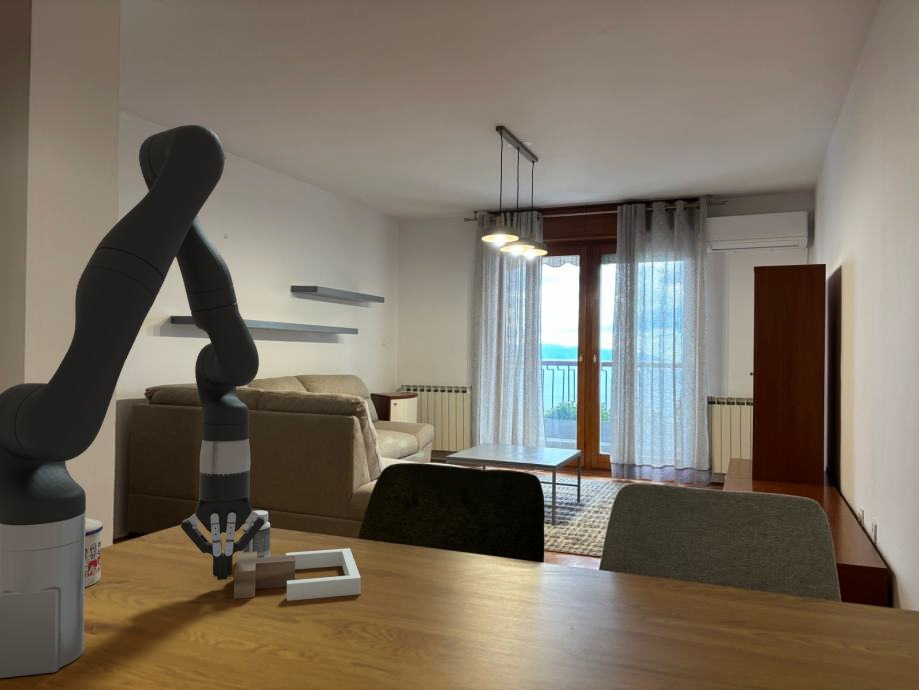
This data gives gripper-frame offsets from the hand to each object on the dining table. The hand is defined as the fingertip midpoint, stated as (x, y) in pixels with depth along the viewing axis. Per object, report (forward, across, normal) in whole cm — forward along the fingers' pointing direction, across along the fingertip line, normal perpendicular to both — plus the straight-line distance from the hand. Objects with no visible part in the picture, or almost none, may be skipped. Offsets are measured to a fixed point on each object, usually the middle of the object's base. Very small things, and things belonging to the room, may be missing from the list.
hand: (222, 578), depth 105 cm
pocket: (+1, +15, 0) cm, 15 cm away
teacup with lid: (+2, -23, +10) cm, 25 cm away
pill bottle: (+2, +5, +14) cm, 15 cm away
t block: (+1, +6, 0) cm, 7 cm away
